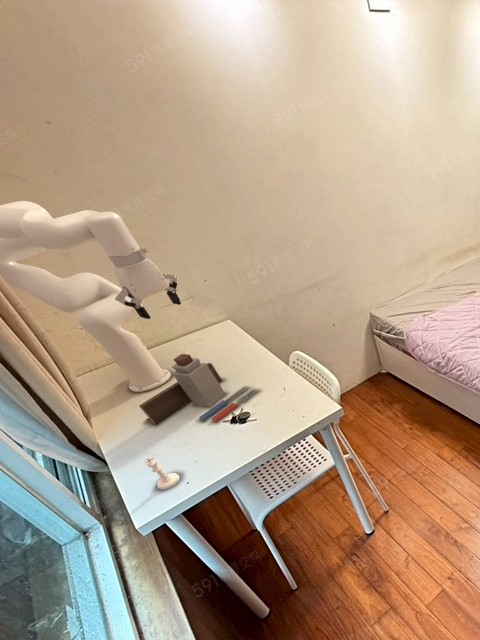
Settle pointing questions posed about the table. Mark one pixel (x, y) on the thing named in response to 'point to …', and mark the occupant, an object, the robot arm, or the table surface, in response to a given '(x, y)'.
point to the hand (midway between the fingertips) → (162, 310)
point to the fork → (232, 406)
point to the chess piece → (162, 475)
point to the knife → (221, 405)
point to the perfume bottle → (197, 381)
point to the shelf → (169, 401)
